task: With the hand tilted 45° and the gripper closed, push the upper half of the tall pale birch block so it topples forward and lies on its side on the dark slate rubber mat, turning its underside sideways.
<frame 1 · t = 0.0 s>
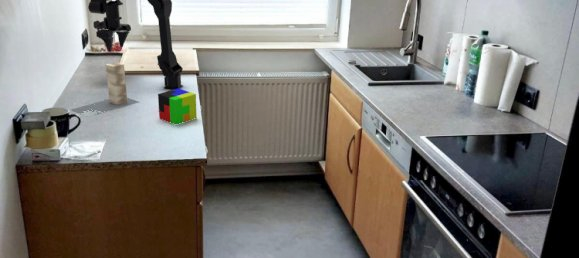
hand: (115, 49, 243), 15 cm above the worktop, tool pointing down, fingers open, 9 cm apart
puzzle toy: (178, 119, 206), on the worktop
slate mat: (105, 106, 215), on the worktop
birch block: (118, 102, 219), resting on slate mat
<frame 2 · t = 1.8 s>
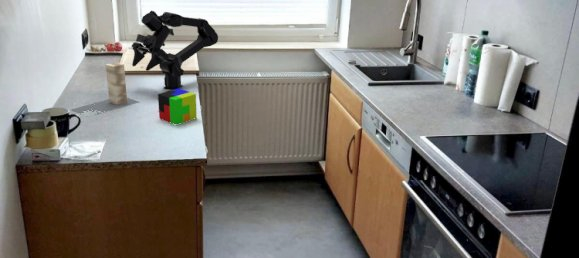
hand: (139, 68, 224), 12 cm above the worktop, tool tilted 45°, fingers open, 9 cm apart
nothing on the worktop moved.
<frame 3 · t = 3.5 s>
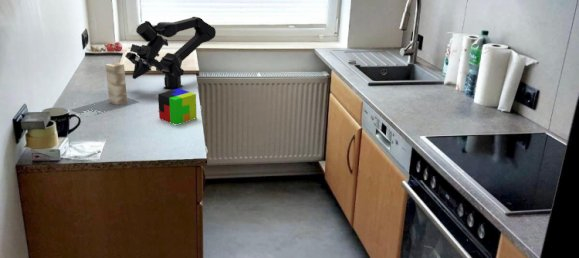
hand: (133, 78, 222), 9 cm above the worktop, tool tilted 45°, fingers closed
nothing on the worktop moved.
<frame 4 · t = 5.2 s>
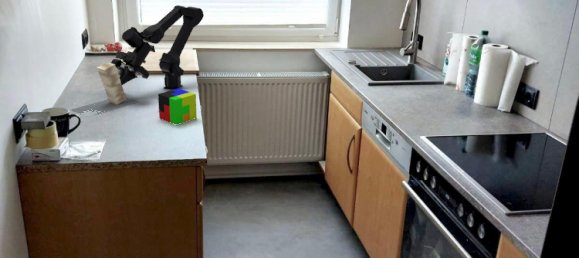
hand: (118, 85, 217), 7 cm above the worktop, tool tilted 45°, fingers closed, pressing on birch block
birch block: (118, 100, 219), point 1 cm above the worktop, tilted 15°, touching gripper, slate mat
everything else where it was.
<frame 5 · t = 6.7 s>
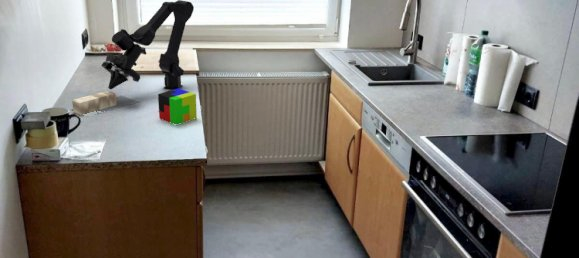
hand: (109, 88, 214), 7 cm above the worktop, tool tilted 45°, fingers closed
birch block: (112, 97, 216), point 3 cm above the worktop, tilted 90°, touching slate mat
everything else where it was.
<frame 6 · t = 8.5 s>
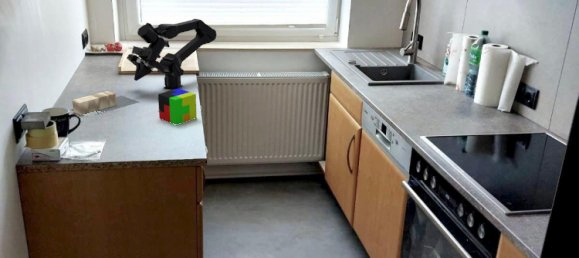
hand: (135, 80, 223), 8 cm above the worktop, tool tilted 45°, fingers closed
nothing on the worktop moved.
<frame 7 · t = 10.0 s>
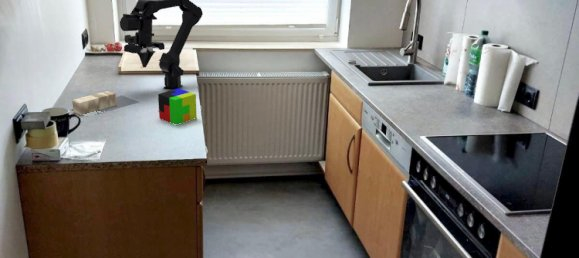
hand: (144, 67, 226), 12 cm above the worktop, tool pointing down, fingers closed
nothing on the worktop moved.
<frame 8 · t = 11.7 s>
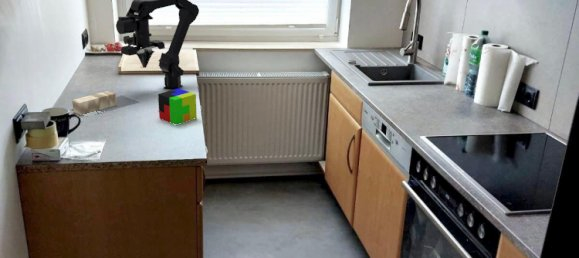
hand: (144, 67, 226), 12 cm above the worktop, tool pointing down, fingers closed
nothing on the worktop moved.
at the end: birch block tilted 90°; birch block point 3.0 cm above the worktop; birch block touching slate mat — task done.
